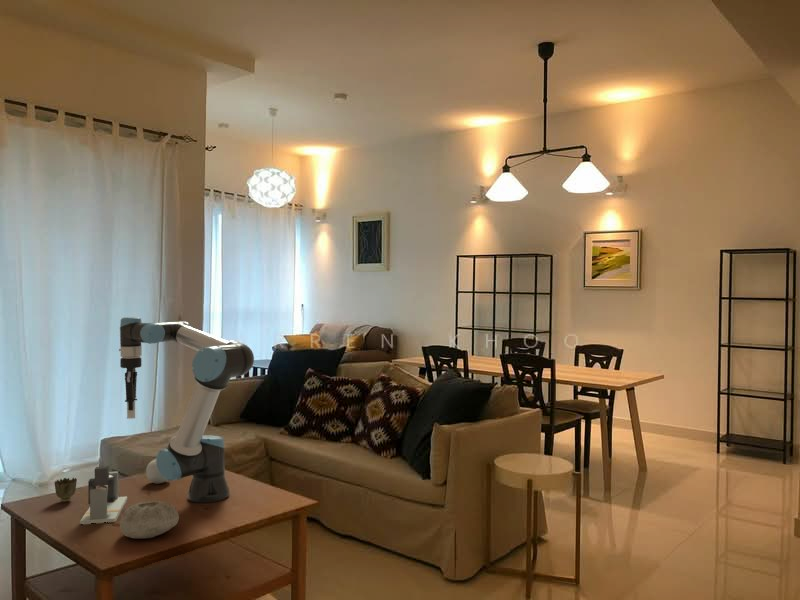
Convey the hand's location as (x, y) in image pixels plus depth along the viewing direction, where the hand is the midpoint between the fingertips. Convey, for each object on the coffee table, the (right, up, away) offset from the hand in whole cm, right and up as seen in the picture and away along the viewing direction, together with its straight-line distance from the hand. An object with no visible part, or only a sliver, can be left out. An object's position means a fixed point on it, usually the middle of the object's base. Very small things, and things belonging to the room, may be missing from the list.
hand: (131, 418), depth 248 cm
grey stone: (+23, -30, -40) cm, 55 cm away
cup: (-21, -30, -9) cm, 37 cm away
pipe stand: (-1, -30, -19) cm, 36 cm away
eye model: (+5, -29, +14) cm, 33 cm away
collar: (0, -25, -24) cm, 35 cm away
